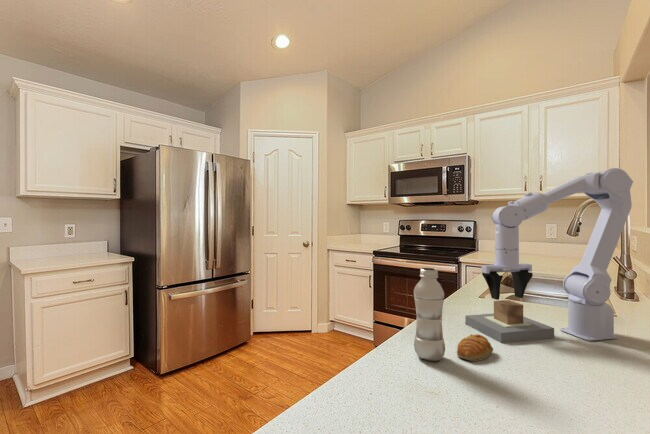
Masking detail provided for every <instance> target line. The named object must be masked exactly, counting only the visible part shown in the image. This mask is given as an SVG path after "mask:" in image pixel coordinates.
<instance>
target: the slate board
mask: <svg viewBox="0 0 650 434" xmlns="http://www.w3.org/2000/svg"><path fill="white" fill-rule="evenodd" d="M464 319H465V320H464V321H465V322H464V323H465V325H467V326H468V327H470V328H472V329H474V330H476V331H477V332H480V333H482V334H483V335H485V336H487V337H489V338H491V339H493V340H495V341H497V342H499V343H502V344H503V343H512V342H515V343H516V342H523V341H533V340H545V339H553V338H554V339H555V328H554V327H552V326H551V325H550V326H549V325H547V324H544V323H542V322H539V321H536V320H534V319H531V318H528V317H526V316H524V315H523V323H520V324H508V325H507V324H505V323H503V322H501V321H498V320H496V319H494V312H493V313H481V314H480V313H479V314H470V315H469V314H468V315H465V318H464Z"/></svg>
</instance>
